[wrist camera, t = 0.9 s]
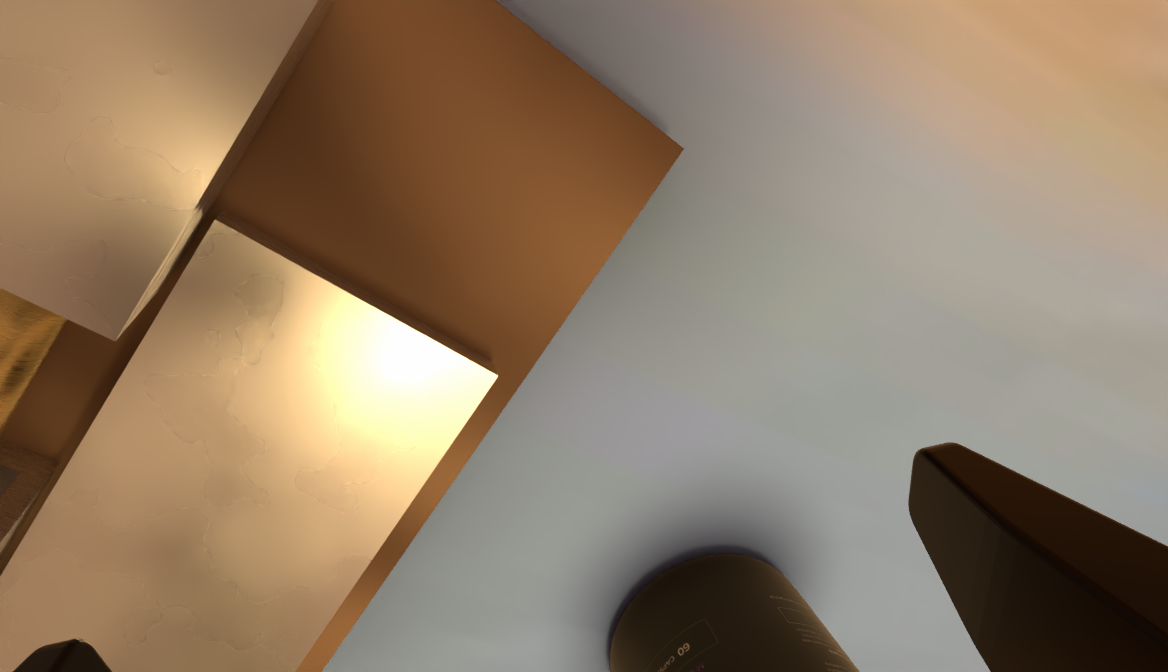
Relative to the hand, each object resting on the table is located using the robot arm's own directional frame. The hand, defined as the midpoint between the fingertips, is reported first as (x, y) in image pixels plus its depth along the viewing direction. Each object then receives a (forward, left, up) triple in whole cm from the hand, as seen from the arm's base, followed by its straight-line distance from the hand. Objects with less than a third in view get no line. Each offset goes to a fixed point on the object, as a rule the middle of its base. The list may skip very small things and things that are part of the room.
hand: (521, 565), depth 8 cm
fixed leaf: (-8, +3, -11) cm, 14 cm away
